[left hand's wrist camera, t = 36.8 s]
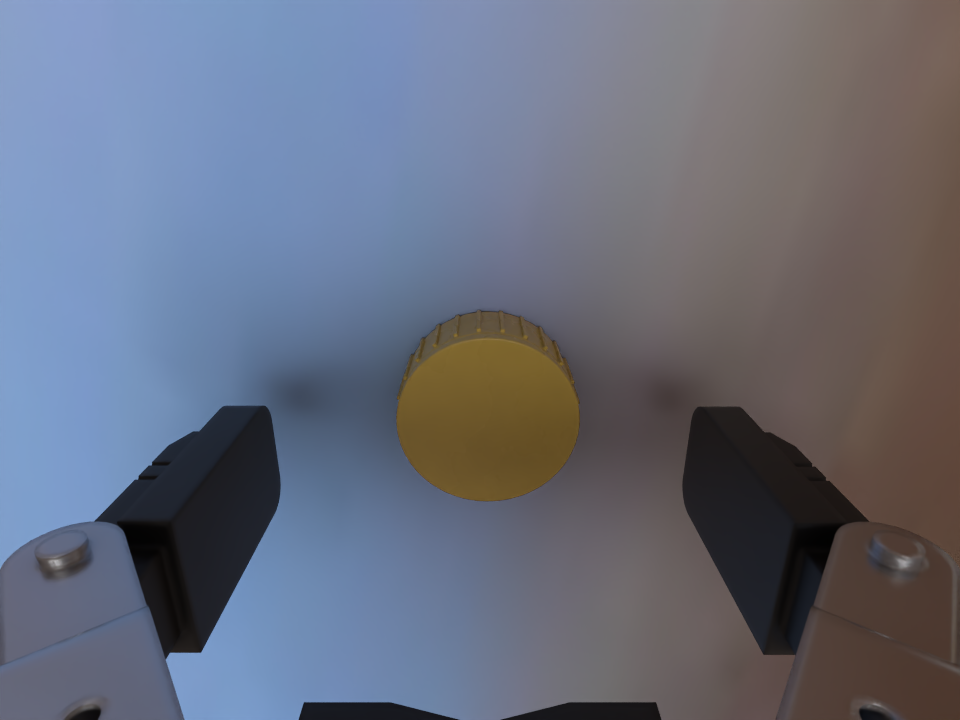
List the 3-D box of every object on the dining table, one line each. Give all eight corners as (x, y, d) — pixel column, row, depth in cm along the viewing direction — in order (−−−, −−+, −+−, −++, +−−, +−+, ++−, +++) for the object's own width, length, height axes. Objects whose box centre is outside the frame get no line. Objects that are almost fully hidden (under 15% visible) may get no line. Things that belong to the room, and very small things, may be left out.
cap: (471, 273, 13) (469, 295, 11) (605, 374, 14) (622, 408, 12) (371, 401, 14) (357, 440, 12) (501, 487, 15) (504, 533, 13)
